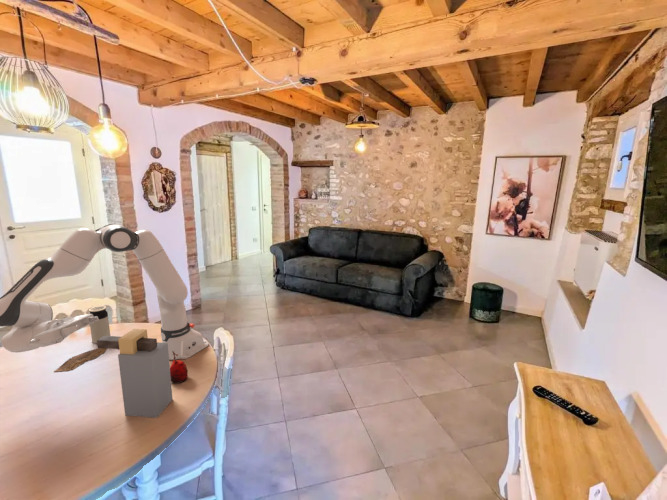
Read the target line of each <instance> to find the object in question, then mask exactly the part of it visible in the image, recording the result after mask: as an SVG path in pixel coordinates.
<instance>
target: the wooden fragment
mask: <svg viewBox="0 0 667 500" xmlns="http://www.w3.org/2000/svg"><path fill="white" fill-rule="evenodd" d="M107 349H108V348H98V347H97V348H94V349H92V350H88V351H86V352H83V353H80V354H77V355H74V356H71V357H70V358H68V359H67V360H65V362H64V363H62V364H61V365H60V366H59V367H58V368H56V369H55V370H53V373H65V372H70V371H74V370H75V369H77V368H78V367H80V366H82V365H84V364H85V363H88V362H89V361H92V360H94V359H97V358H99V357H100V356H101V355H104V354H105V352H106V351H107Z"/></svg>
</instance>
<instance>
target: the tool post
mask: <svg viewBox="0 0 667 500" xmlns="http://www.w3.org/2000/svg"><path fill="white" fill-rule="evenodd" d="M120 337H121V338H119V339H118V342H119V349H118V350H119V354H118V355H117V358H118V366H119V368H118V369H119V376H120V382H121V392H122V399H123V400H122V401H123V408H124V409H123V410H124V416H129V417H131V416H132V417H144V418H145V417H146V418H156V419H158V417H159V416H160V415H161V414H162V412H163V411H164V410H165V409H166V408H167V407H168V405H169V404H171V402H172V401H173V389H172V382H171V376H170V366H171V365H170V360H169V353H168V343H162V342H158V341H157V347H156V348H155V349H153V350H152V351H141V350H137V343H136V341H137V340H139V339H140V338H149V337H148V329H144V328H134V329H131V330H130V331H129V332H126V333H125V334H123V335H122V336H120Z"/></svg>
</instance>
